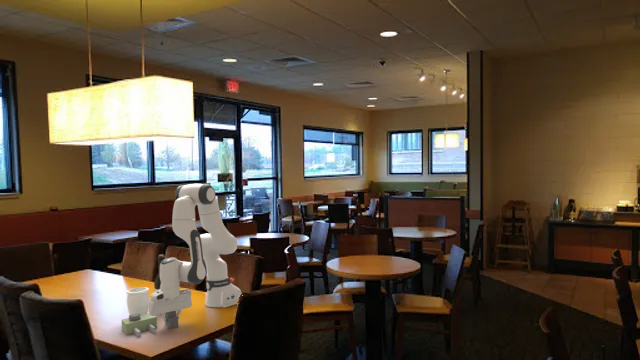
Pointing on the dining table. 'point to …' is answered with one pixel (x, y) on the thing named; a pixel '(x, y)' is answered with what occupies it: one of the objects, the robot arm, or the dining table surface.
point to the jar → (138, 300)
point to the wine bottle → (157, 280)
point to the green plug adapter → (139, 324)
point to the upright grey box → (171, 319)
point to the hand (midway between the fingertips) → (171, 320)
